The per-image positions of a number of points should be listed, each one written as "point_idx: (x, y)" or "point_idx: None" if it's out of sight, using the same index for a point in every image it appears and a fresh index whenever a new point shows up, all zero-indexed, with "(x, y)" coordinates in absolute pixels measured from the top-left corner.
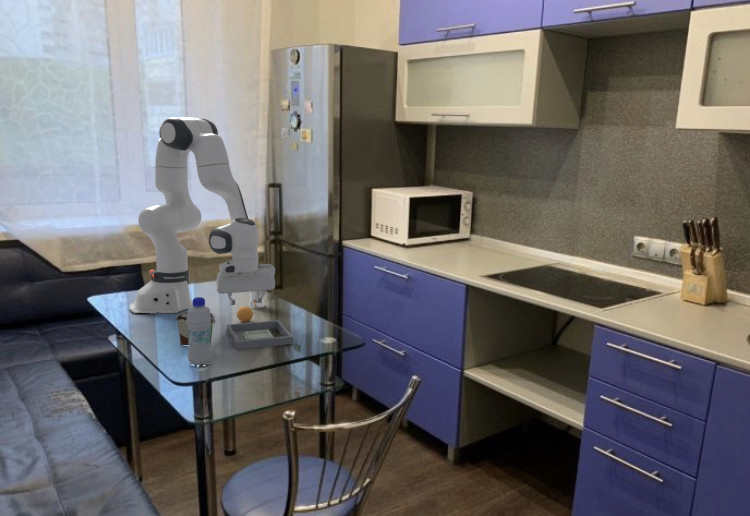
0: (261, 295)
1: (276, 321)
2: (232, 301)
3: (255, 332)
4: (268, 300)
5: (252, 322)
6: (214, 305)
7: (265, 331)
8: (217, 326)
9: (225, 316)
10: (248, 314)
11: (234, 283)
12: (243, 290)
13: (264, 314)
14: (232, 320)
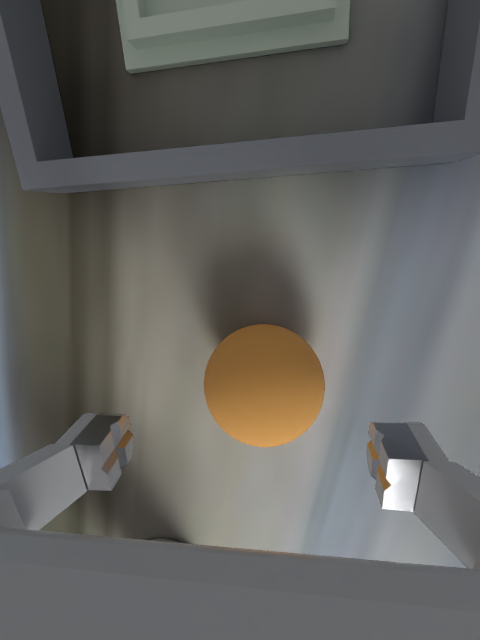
0: (40, 475)
1: (41, 161)
2: (423, 449)
3: (238, 11)
4: None
5: (236, 169)
6: None
7: (153, 23)
8: (475, 310)
9: (360, 479)
10: (243, 338)
11: None
12: (280, 580)
13: (141, 449)
14: (338, 402)
